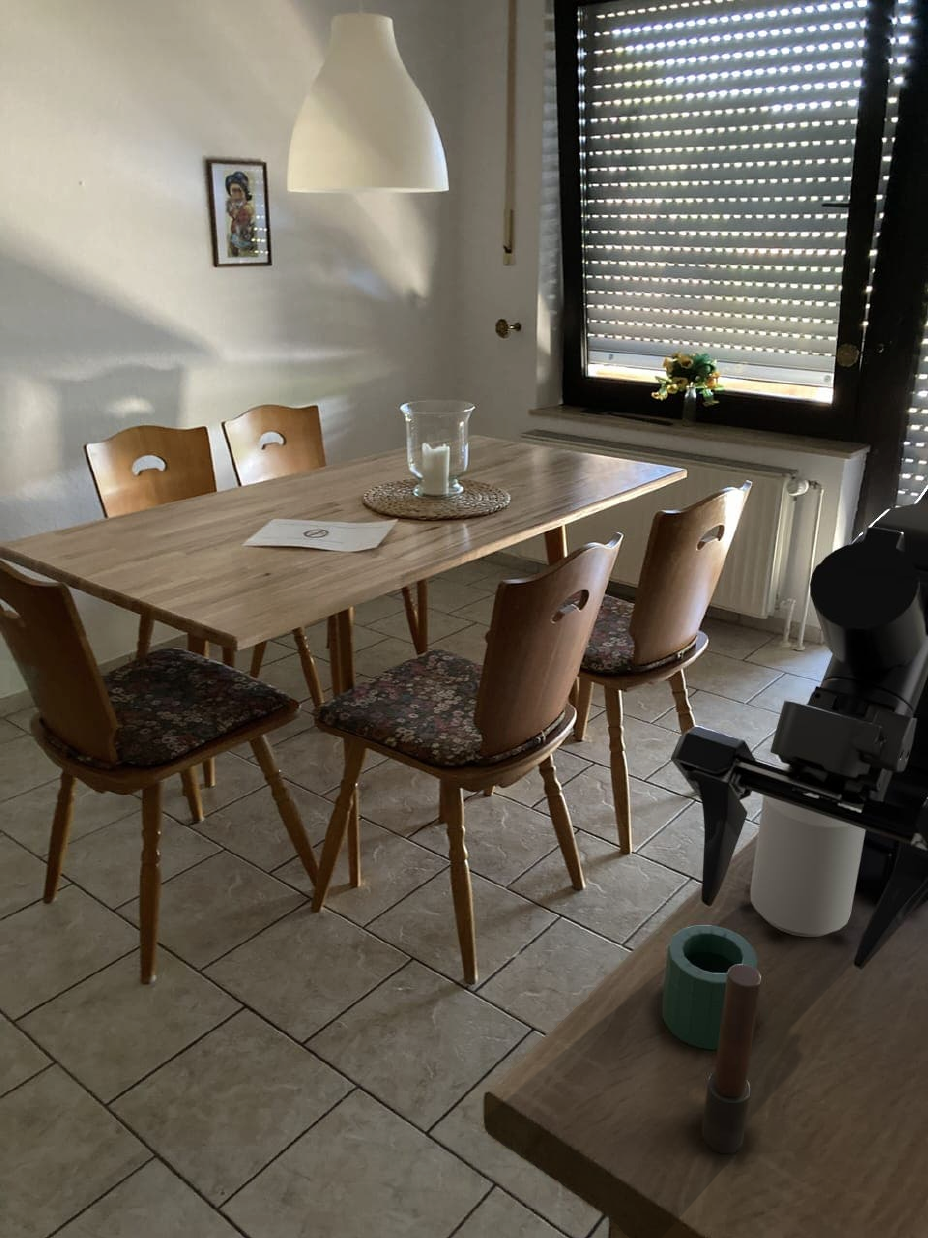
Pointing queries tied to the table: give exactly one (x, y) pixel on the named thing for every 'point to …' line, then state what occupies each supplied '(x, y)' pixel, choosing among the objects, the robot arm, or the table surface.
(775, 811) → the can
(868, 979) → the table surface
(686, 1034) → the teal hollow cylinder
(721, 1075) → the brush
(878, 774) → the robot arm
